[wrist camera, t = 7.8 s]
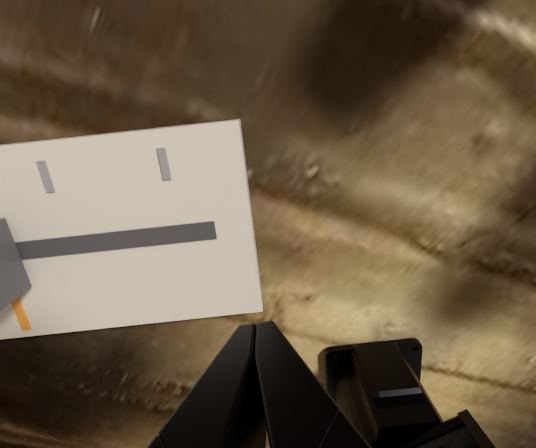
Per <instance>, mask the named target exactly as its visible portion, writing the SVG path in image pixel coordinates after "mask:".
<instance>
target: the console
mask: <svg viewBox="0 0 536 448" xmlns="http://www.w3.org/2000/svg"><path fill="white" fill-rule="evenodd" d="M0 218H5V219H6V222H7V224H8V227H9V229H10V232H11V234H12V237H13V240H14V242H15V245H16V247H17V250H18V252H19V255H20V258H21V260H22V263H23V265H24V268H25V270H26V273H27V276H28V278H29V281H30V283H31V287H30V288H29V289H27V290H26V291H25V292H24V293H22V294H21V295H20V296H19V297H17V298H16V299H15V300H14V301H12V302H11V303H10V304H9V305H8V306H6V307H5V308H4V309H3V310H1V311H0V340H1V339H10V338H20V337H29V336H38V335H48V334H57V333H67V332H76V331H85V330H95V329H104V328H114V327H123V326H132V325H142V324H151V323H160V322H170V321H179V320H189V319H198V318H207V317H217V316H226V315H236V314H245V313H254V312H263V298H262V290H261V282H260V274H259V266H258V258H257V249H256V241H255V233H254V225H253V217H252V209H251V201H250V193H249V185H248V177H247V169H246V161H245V153H244V145H243V136H242V128H241V120H240V119H234V120H225V121H216V122H207V123H197V124H188V125H179V126H170V127H160V128H151V129H142V130H133V131H123V132H114V133H105V134H95V135H86V136H77V137H68V138H58V139H49V140H40V141H31V142H21V143H12V144H3V145H0Z"/></svg>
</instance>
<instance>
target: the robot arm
mask: <svg viewBox="0 0 536 448" xmlns="http://www.w3.org/2000/svg"><path fill="white" fill-rule="evenodd" d="M414 345H415V346H414ZM412 346H414V347H412ZM331 354H335V355H333V356H330V355H331ZM421 359H422V345H421V343H420V342H419V341H418V340H417V339H415V338H411V339H402V340H392V341H383V342H374V343H364V344H355V345H345V346H336V347H330V348H328V349H326V351H325V369H326V387H327V391H326V390H325V388H324V387H323V386H322V384H321V383H320V382H319V380H318V379H317V378H316V376H315V375H314V374H313V373H312V371H311V370H310V369H309V367H308V366H307V365H306V363H305V362H304V361H303V359H302V358H301V357H300V356H299V354H298V353H297V352H296V350H295V349H294V348H293V346H292V345H291V344H290V342H289V341H288V340H287V339H286V337H285V336H284V335H283V333H282V332H281V331H280V329H279V328H278V327H277V325H276V324H275V323H274V322H273V321H265V322H259V323H257V325H256V324H254V323H251V324H244V325H240V326H238V328H237V329H236V330H235V332H234V333H233V334H232V336H231V337H230V338H229V340H228V341H227V342H226V344H225V345H224V346H223V348H222V349H221V350H220V352H219V353H218V354H217V356H216V357H215V358H214V360H213V361H212V362H211V364H210V365H209V366H208V368H207V369H206V370H205V372H204V373H203V374H202V376H201V377H200V378H199V380H198V381H197V382H196V384H195V385H194V386H193V388H192V389H191V390H190V392H189V393H188V394H187V395H186V397H185V398H184V399H183V401H182V402H181V403H180V405H179V406H178V407H177V409H176V410H175V411H174V413H173V414H172V415H171V417H170V418H169V419H168V421H167V422H166V423H165V425H164V426H163V427H162V429H161V430H160V432H159V435H160V436H159V435H157V436H156V437H155V438H154V439H153V441H152V442H151V443H150V445H149V446H148V447H147V448H265V445H266V427H267V432H268V438H269V444H270V448H495V446H494V445H493V444H492V442H491V441H490V440H489V438H488V437H487V436H486V434H485V433H484V432H483V430H482V429H481V428H480V426H479V425H478V424H477V422H476V421H475V420H474V418H473V417H472V416H471V414H470V413H469V412H468V410H467V409H466V410H464V411H462V412H459V413H457V414H458V416H456V417H453V418H451V419H449V420H447V421H444V422H443V420H442V418H441V416H440V415H439V413H438V411H437V410H436V408H435V406H434V405H433V403H432V401H431V400H430V398H429V396H428V394H427V393H426V391H425V389H424V388H423V386H422V384H421V383H420V374H421Z"/></svg>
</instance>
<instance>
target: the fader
mask: <svg viewBox="0 0 536 448" xmlns="http://www.w3.org/2000/svg"><path fill="white" fill-rule="evenodd" d="M30 287H31V283H30V281H29V278H28V276H27V273H26V270H25V268H24V265H23V263H22V260H21V258H20V255H19V252H18V250H17V247H16V245H15V242H14V240H13V237H12V234H11V232H10V229H9V227H8V224H7V222H6V219H5V218H0V311H1V310H3V309H4V308H5V307H6V306H8V305H9V304H10V303H11V302H12V301H14V300H15V299H16V298H17V297H19V296H20V295H21V294H22V293H24V292H25V291H26V290H27V289H29V288H30Z"/></svg>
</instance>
